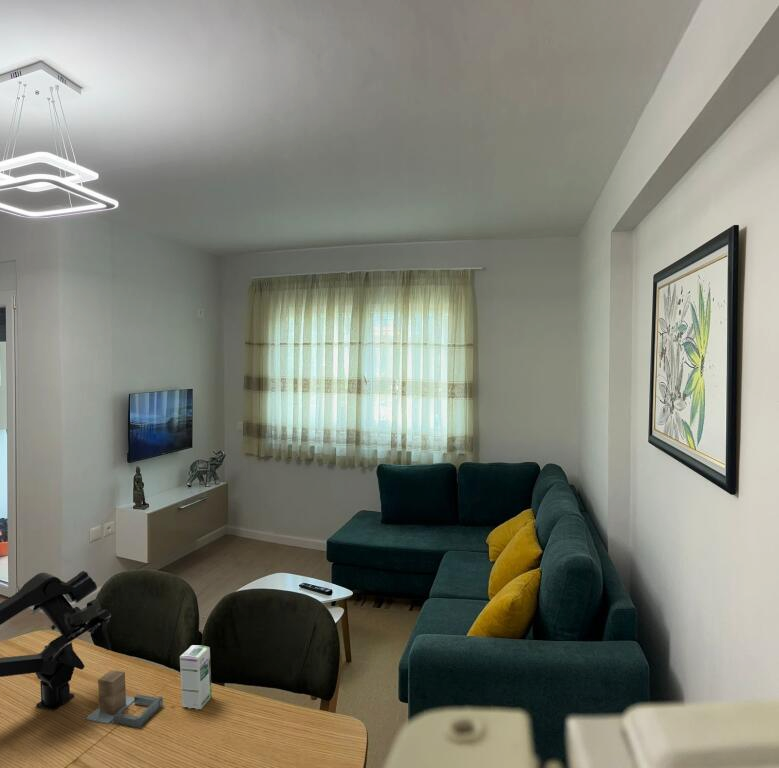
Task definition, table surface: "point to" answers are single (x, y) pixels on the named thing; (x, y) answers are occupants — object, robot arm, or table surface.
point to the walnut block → (112, 692)
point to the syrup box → (195, 676)
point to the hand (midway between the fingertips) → (97, 658)
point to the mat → (107, 717)
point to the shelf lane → (138, 721)
